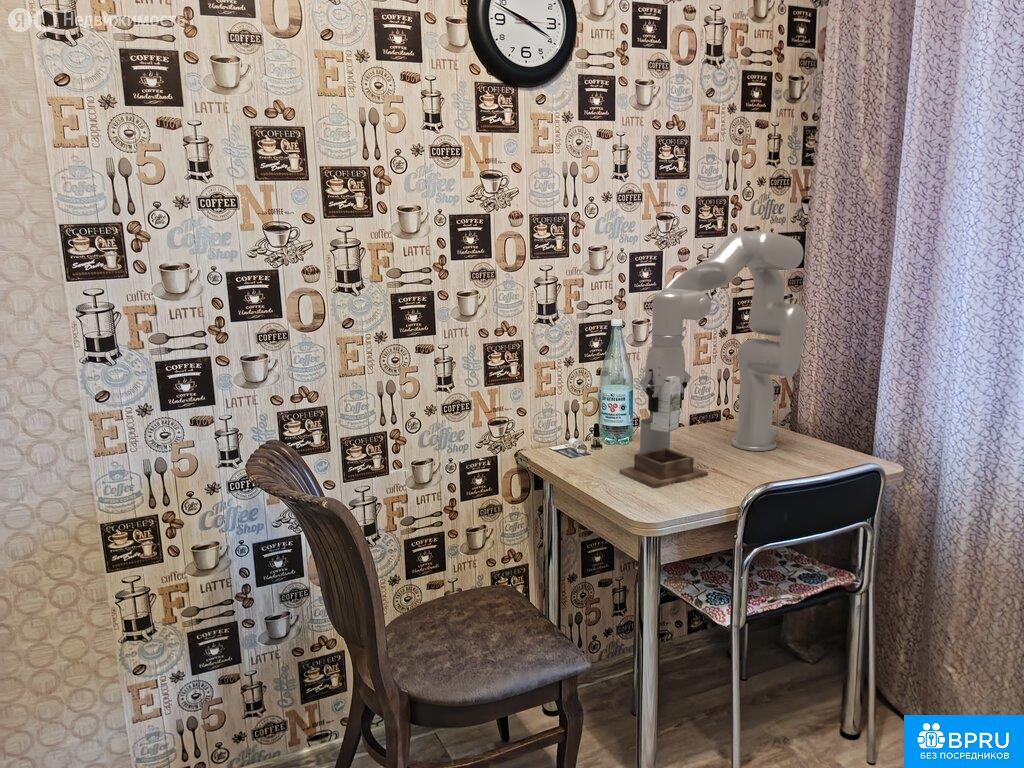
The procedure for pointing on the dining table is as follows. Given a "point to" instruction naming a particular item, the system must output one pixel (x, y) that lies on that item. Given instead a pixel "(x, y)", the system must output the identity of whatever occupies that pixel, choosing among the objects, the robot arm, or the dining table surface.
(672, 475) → the box
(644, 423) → the cup
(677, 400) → the syrup box
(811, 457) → the dining table surface
